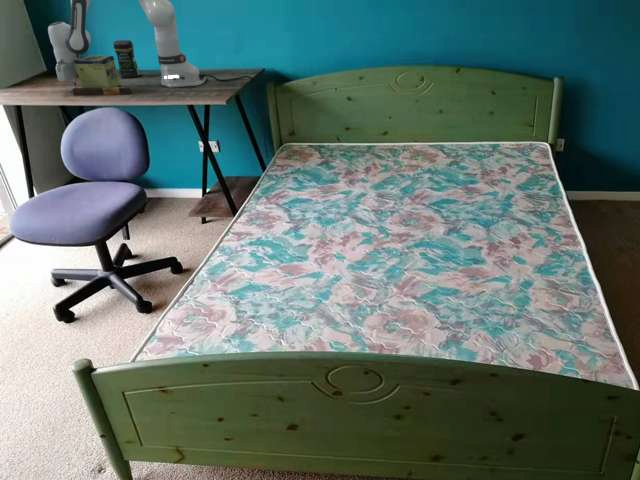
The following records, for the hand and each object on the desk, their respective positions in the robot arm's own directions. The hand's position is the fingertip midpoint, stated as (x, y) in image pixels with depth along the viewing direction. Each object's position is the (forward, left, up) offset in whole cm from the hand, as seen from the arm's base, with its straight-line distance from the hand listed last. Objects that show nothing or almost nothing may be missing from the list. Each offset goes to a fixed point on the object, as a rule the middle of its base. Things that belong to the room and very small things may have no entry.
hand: (74, 86), depth 301 cm
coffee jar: (-19, -26, -2) cm, 32 cm away
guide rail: (-17, +7, -2) cm, 19 cm away
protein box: (-14, -1, -2) cm, 14 cm away
